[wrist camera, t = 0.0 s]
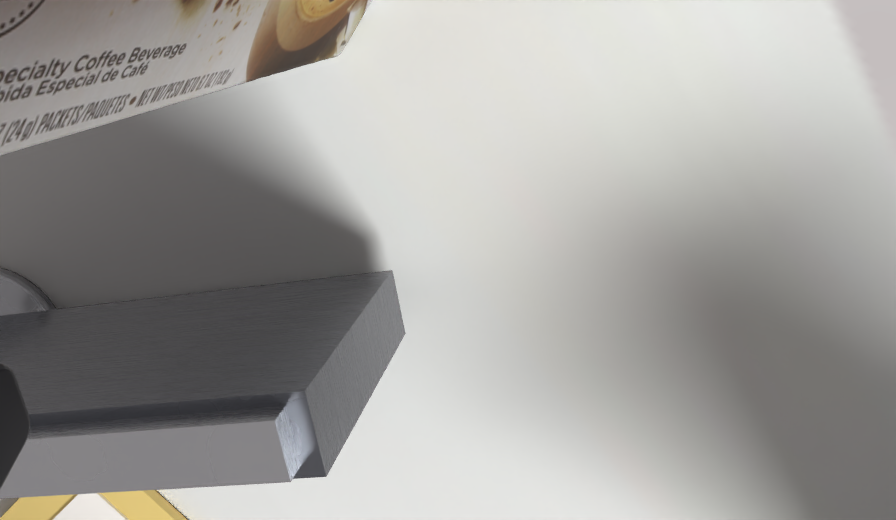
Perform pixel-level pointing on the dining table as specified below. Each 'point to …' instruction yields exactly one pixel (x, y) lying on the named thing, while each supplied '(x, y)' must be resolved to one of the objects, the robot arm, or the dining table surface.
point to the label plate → (95, 507)
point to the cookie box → (147, 55)
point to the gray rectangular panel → (198, 385)
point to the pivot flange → (20, 295)
